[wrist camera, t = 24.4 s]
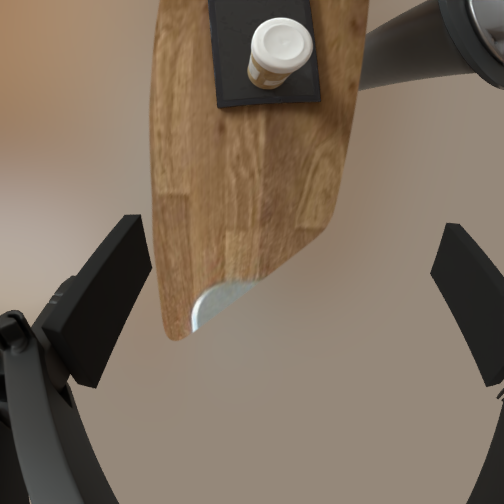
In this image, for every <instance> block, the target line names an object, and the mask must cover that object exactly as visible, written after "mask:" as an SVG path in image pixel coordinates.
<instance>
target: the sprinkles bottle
mask: <svg viewBox="0 0 504 504" xmlns="http://www.w3.org/2000/svg"><path fill="white" fill-rule="evenodd" d="M312 50H313V42H312V38H311V36H310V34H309V32H308V31H307V29H306V28H305V27H304V26H303V25H301V24H300V23H298V22H296V21H294V20H292V19H288V18H273V19H270V20H267V21H265V22H264V23H262V24H261V25H260V26H259V27H258V28H257V29H256V31H255V33H254V35H253V38H252V42H251V56H250V61H249V65H248V70H247V72H248V76H249V79H250V80H251V82H252V83H253V84H254V85H255V86H257V87H259V88H262V89H274V88H276V87H278V86H280V85H281V84H282V83H283V82H284V81H285V80H286V79H287V77H288V76H289V75H290V74H291V73H292V72H294V71H296V70H298V69H299V68H300V67H302V66H303V65H304V64H305V63H306V62H307V61H308V59H309V58H310V56H311V54H312Z"/></svg>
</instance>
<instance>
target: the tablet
mask: <svg viewBox="0 0 504 504" xmlns="http://www.w3.org/2000/svg"><path fill="white" fill-rule="evenodd" d="M208 6H209V19H210V31H211V43H212V54H213V65H214V76H215V87H216V97H217V107H218V108H226V107H236V106H247V105H260V104H276V103H301V102H321V97H320V86H319V75H318V65H317V56H316V47H315V38H314V30H313V23H312V16H311V9H310V2H309V0H208ZM273 18H288V19H292V20H294V21H296V22H298V23H300V24H301V25H303V26H304V27H305V28H306V29H307V31H308V32H309V34H310V36H311V38H312V42H313V50H312V54H311V56H310V58H309V59H308V61H307V62H306V63H305V64H304V65H303V66H302V67H300V68H299V69H298V70H296V71H294V72H292V73H291V74H290V75H289V76H288V77H287V79H286V80H285V81H284V82H283V83H282V84H281V85H280V86H278V87H276V88H274V89H262V88H259V87H257V86H255V85H254V84H253V83H252V82H251V80H250V79H249V76H248V72H247V70H248V65H249V61H250V56H251V42H252V38H253V35H254V33H255V31H256V29H257V28H258V27H259V26H260V25H261V24H262V23H264V22H265V21H267V20H270V19H273Z"/></svg>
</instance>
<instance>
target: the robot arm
mask: <svg viewBox="0 0 504 504" xmlns="http://www.w3.org/2000/svg"><path fill="white" fill-rule="evenodd" d="M465 8H466V13H467V16H468V19H469V22H470V24H471V26H472V29H473V31H474V33H475V34H476V36H477V38H478V39H479V41H480V43H481V44H482V46H483V47H484V48H485V50H486V51H487V52H488V53H489V54H490V55H491V56H492V57H493V58H494V59H495V60H496V61H497V62H499V63H500V64H502V65H504V0H465ZM151 269H152V265H151V261H150V256H149V252H148V247H147V243H146V238H145V233H144V228H143V224H142V219H141V215H124V216H123V218H122V219H121V220H120V221H119V222H118V224H117V225H116V226H115V227H114V228H113V230H112V231H111V232H110V233H109V234H108V236H107V237H106V238H105V239H104V240H103V242H102V243H101V244H100V245H99V247H98V248H97V249H96V251H95V252H94V253H93V254H92V256H91V257H90V258H89V259H88V261H87V262H86V263H85V265H84V266H83V268H82V269H81V270H80V272H79V273H78V274H77V275H76V276H71V277H70V278H68V279H67V280H66V281H64V282H63V283H62V284H61V285H60V287H59V288H58V290H57V291H56V292H55V295H53V296H52V298H51V299H50V301H49V303H47V305H46V306H45V308H44V309H43V310H42V312H41V313H40V315H39V316H38V318H37V319H36V321H35V322H34V324H33V325H32V327H30V326H29V324H28V322H27V320H26V318H25V317H24V315H23V313H21V312H20V311H18V310H11V311H8V312H6V313H4V314H2V315H1V316H0V504H30V502H29V497H30V500H31V503H32V504H119V503H118V501H117V499H116V497H115V495H114V493H113V491H112V489H111V487H110V485H109V484H108V481H107V480H106V477H105V475H104V473H103V471H102V469H101V467H100V464H99V462H98V460H97V458H96V456H95V453H94V451H93V449H92V446H91V444H90V441H89V439H88V436H87V434H86V431H85V429H84V426H83V423H82V421H81V418H80V415H79V412H78V409H77V406H76V403H75V401H74V397H73V394H72V391H71V388H70V386H69V384H68V383H67V380H68V378H69V376H70V374H71V375H72V377H73V378H74V379H75V381H76V382H77V383H78V384H80V385H84V386H87V387H92V388H97V385H98V383H99V381H100V378H101V376H102V373H103V371H104V369H105V366H106V364H107V362H108V360H109V357H110V355H111V353H112V351H113V348H114V346H115V344H116V342H117V339H118V337H119V335H120V333H121V331H122V329H123V326H124V324H125V322H126V320H127V318H128V316H129V314H130V312H131V310H132V308H133V305H134V303H135V301H136V299H137V297H138V295H139V293H140V291H141V289H142V287H143V285H144V283H145V281H146V279H147V277H148V275H149V273H150V272H151ZM430 274H431V276H432V278H433V279H434V281H435V283H436V284H437V286H438V288H439V290H440V292H441V293H442V295H443V297H444V299H445V301H446V303H447V304H448V306H449V308H450V310H451V312H452V314H453V316H454V318H455V320H456V322H457V324H458V326H459V328H460V330H461V332H462V334H463V336H464V338H465V340H466V342H467V344H468V346H469V348H470V350H471V353H472V355H473V357H474V359H475V361H476V364H477V366H478V368H479V370H480V373H481V375H482V378H483V380H484V383H485V385H486V387H488V386H493V385H496V384H500V383H501V382H502V381H503V379H504V277H503V275H502V274H501V273H500V271H499V270H498V269H497V268H496V266H495V265H494V264H493V263H492V261H491V260H490V259H489V258H488V256H487V255H486V254H485V253H484V252H483V250H482V249H481V248H480V247H479V246H478V244H477V243H476V242H475V241H474V240H473V239H472V237H471V236H470V235H469V234H468V233H467V232H466V231H465V230H464V228H463V227H462V226H461V225H460V224H454V223H446V226H445V229H444V233H443V236H442V239H441V243H440V246H439V249H438V252H437V255H436V258H435V261H434V264H433V267H432V270H431V273H430ZM503 394H504V388H503V390H502V391H501V392H500V393H499V394H498V396H497V399H499V398H500V397H501V396H502V395H503ZM502 401H503V405H502V409H501V413H500V417H499V420H498V423H497V427H496V430H495V433H494V436H493V440H492V442H491V445H490V448H489V451H488V454H487V457H486V460H485V462H484V465H483V467H482V470H481V472H480V475H479V477H478V479H477V482H476V484H475V486H474V489H473V491H472V493H471V495H470V497H469V499H468V501H467V503H466V504H504V398H503V399H502Z"/></svg>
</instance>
